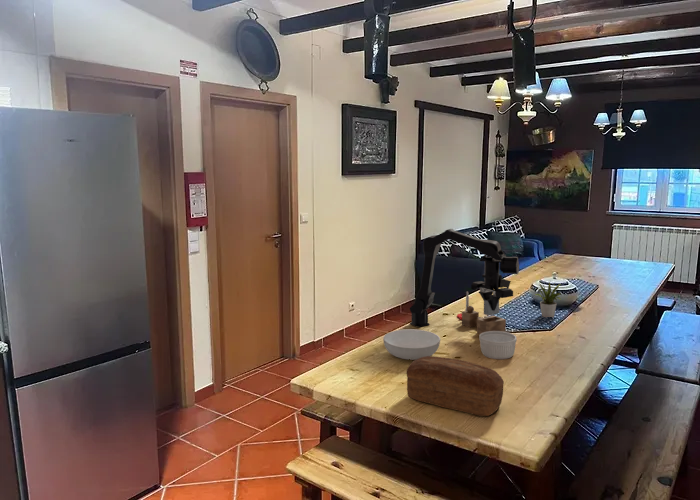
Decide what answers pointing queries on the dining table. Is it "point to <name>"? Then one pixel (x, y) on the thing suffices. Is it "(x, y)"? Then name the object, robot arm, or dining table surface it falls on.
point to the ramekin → (497, 344)
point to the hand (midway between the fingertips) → (491, 309)
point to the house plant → (548, 301)
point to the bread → (455, 385)
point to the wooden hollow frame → (482, 321)
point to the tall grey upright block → (490, 308)
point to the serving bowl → (411, 343)
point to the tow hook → (466, 306)
